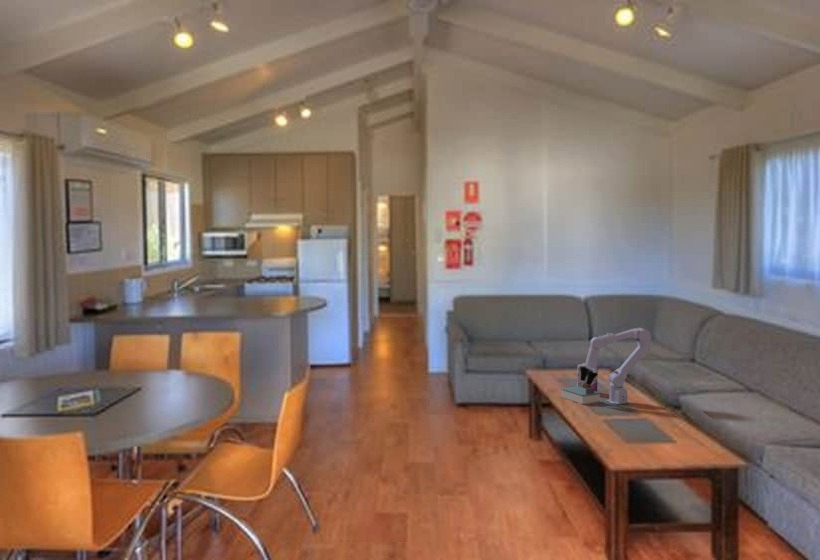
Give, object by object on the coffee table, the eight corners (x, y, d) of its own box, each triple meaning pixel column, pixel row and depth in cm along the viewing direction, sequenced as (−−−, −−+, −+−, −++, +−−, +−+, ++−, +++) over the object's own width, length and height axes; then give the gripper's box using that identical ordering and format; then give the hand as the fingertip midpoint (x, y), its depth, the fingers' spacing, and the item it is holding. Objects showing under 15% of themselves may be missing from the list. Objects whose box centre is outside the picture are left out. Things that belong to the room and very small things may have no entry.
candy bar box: (578, 393, 398) (578, 365, 397) (576, 391, 403) (577, 364, 402) (597, 394, 397) (598, 366, 396) (596, 392, 402) (596, 364, 401)
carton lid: (599, 393, 377) (599, 387, 377) (582, 396, 372) (582, 389, 372) (578, 387, 393) (578, 381, 393) (561, 389, 388) (561, 383, 388)
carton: (599, 402, 378) (599, 394, 377) (582, 404, 372) (582, 396, 372) (578, 395, 394) (578, 387, 393) (561, 397, 389) (561, 390, 388)
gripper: (579, 354, 384) (573, 377, 385) (591, 360, 370) (584, 384, 370) (591, 356, 385) (584, 379, 386) (603, 363, 371) (596, 386, 372)
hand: (585, 382), depth 378 cm, fingers open, 7 cm apart
